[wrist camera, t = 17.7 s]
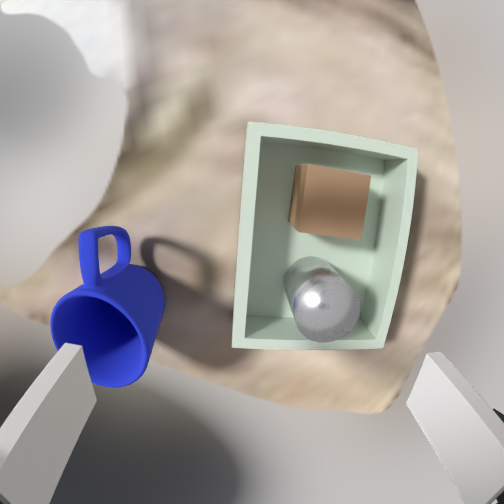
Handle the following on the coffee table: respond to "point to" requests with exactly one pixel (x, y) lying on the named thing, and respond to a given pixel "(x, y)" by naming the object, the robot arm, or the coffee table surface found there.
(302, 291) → the canister
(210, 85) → the coffee table surface
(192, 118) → the coffee table surface
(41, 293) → the coffee table surface
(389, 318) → the tote
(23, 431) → the robot arm
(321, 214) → the walnut block
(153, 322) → the mug
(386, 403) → the coffee table surface
